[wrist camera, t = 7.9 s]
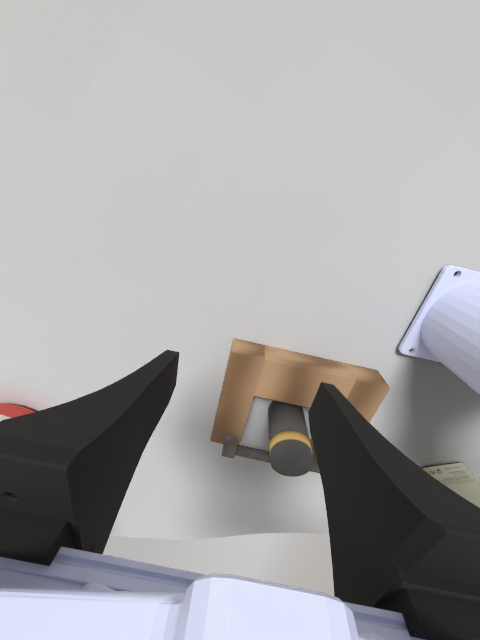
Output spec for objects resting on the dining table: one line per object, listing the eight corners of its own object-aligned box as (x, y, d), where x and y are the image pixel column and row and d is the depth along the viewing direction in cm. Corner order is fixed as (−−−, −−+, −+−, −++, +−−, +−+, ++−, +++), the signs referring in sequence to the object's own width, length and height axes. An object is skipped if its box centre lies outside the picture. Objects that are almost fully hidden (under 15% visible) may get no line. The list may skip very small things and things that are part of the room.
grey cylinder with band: (310, 407, 26) (323, 460, 20) (288, 427, 27) (295, 482, 22) (281, 390, 25) (287, 440, 20) (261, 412, 27) (261, 464, 21)
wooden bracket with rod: (377, 370, 23) (398, 400, 20) (335, 448, 28) (346, 484, 24) (233, 338, 23) (228, 362, 20) (214, 422, 28) (207, 454, 24)
